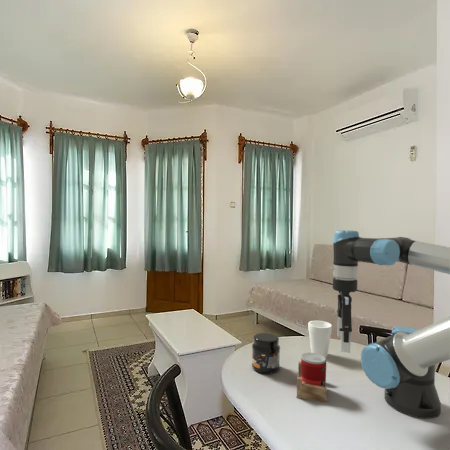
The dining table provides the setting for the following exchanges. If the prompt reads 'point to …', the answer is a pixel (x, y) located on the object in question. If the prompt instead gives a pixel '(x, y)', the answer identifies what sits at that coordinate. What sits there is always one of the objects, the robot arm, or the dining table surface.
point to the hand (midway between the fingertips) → (343, 344)
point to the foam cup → (319, 336)
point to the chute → (309, 389)
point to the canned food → (313, 369)
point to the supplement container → (265, 353)
